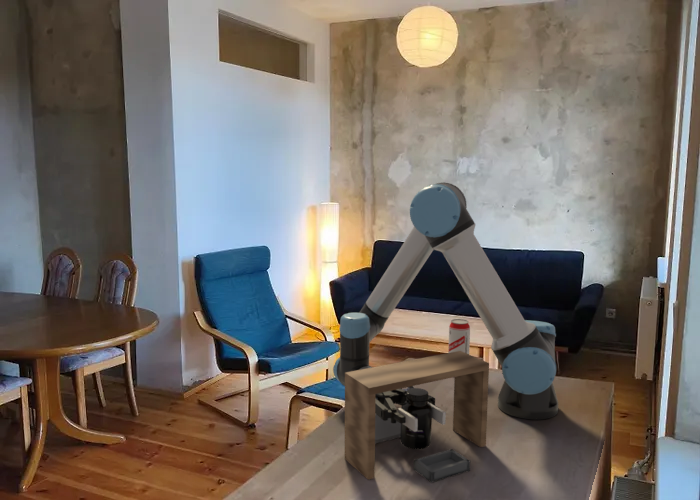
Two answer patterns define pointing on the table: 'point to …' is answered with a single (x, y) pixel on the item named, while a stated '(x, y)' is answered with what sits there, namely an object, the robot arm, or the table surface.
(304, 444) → the table surface
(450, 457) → the trap tray
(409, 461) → the table surface
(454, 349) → the beer can
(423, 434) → the supplement bottle
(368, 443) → the bridge
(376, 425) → the coaster
